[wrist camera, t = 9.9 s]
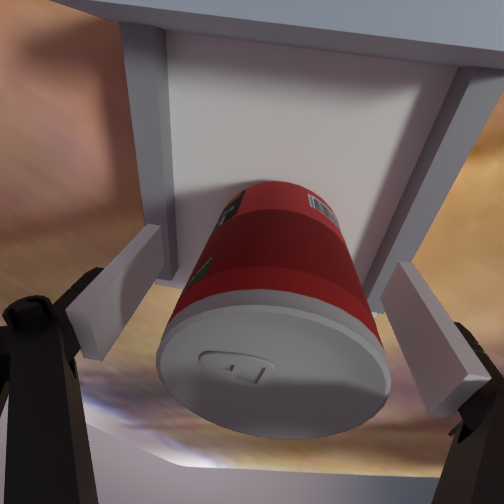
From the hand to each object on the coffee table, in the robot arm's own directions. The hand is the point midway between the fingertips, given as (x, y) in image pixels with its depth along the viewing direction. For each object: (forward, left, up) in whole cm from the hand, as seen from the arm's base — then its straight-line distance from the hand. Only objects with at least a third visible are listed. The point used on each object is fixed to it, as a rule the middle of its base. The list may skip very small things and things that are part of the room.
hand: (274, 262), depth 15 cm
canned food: (0, 0, -4) cm, 4 cm away
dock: (0, -2, -7) cm, 7 cm away
